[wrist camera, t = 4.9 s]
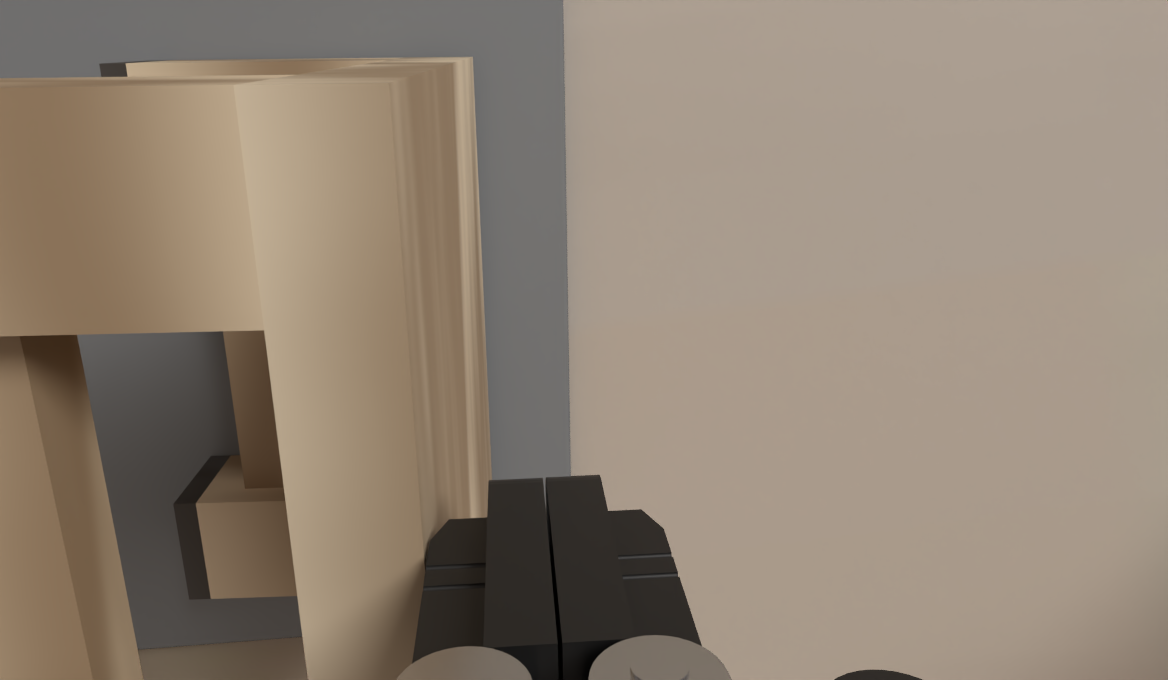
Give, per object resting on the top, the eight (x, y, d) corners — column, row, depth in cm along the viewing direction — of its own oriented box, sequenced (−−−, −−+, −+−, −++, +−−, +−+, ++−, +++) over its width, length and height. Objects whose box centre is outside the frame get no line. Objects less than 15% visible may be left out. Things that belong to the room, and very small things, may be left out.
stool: (223, 543, 24) (-64, 1007, 12) (150, 60, 20) (-357, 92, 9) (494, 534, 24) (455, 979, 13) (472, 57, 20) (389, 83, 9)
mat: (559, -86, 21) (562, -89, 20) (571, 604, 26) (572, 615, 26) (-605, -91, 18) (-633, -94, 18) (-315, 673, 24) (-331, 686, 23)
